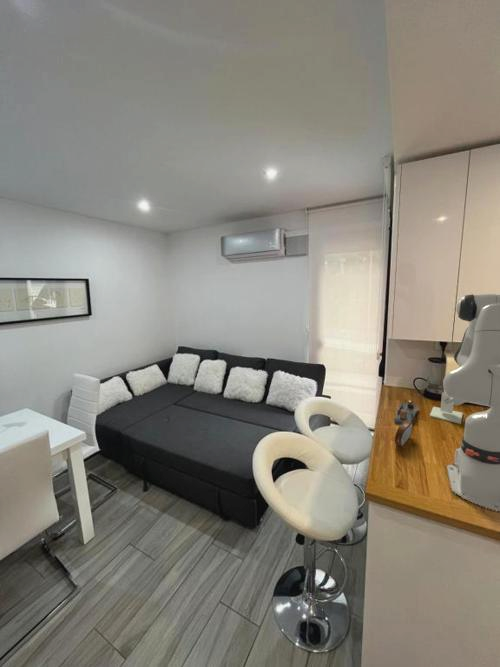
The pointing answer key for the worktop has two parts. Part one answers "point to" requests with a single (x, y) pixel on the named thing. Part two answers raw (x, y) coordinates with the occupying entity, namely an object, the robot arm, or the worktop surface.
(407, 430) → the tin
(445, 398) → the grey rectangular block
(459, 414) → the cutting board
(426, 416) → the worktop surface
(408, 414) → the hand plane
